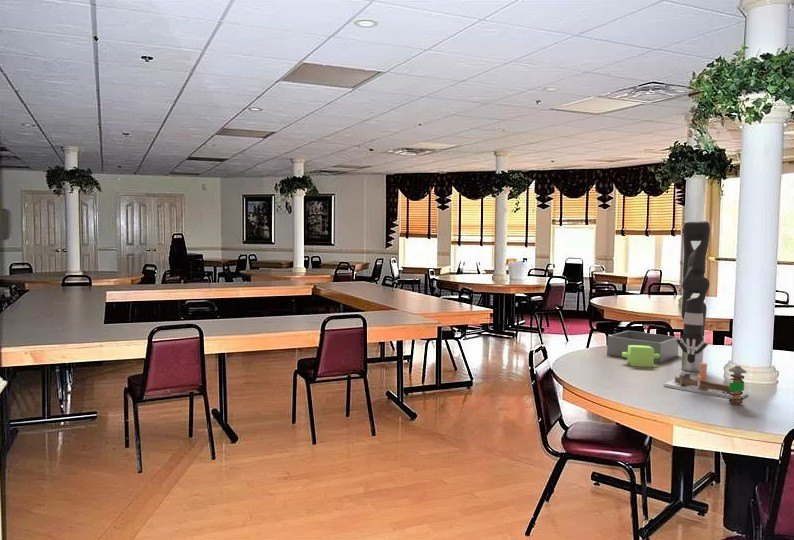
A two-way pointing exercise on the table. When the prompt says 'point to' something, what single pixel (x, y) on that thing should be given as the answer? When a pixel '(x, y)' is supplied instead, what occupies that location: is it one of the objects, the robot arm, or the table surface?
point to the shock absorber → (736, 384)
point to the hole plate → (701, 389)
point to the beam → (685, 378)
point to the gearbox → (640, 355)
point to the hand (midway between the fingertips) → (690, 362)
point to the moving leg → (702, 373)
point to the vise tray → (643, 344)
